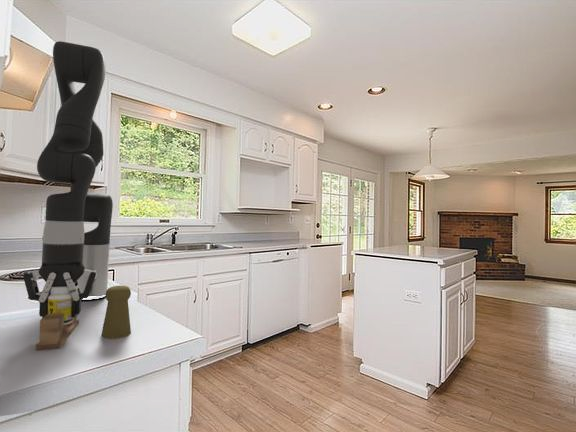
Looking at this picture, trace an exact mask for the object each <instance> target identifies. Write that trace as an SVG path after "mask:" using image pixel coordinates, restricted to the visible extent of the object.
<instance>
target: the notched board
mask: <svg viewBox="0 0 576 432" xmlns="http://www.w3.org/2000/svg"><path fill="white" fill-rule="evenodd" d="M79 324H80V319H78V315H77V316H76V317H73V321H72V322H71V323H70V324H67V325H64V313H52V314H47V315H46V316H44V317H43V318H41V319H40V320H39V334H38V335H39V336H38V343H37V344H36V345H35V351H43V350H45V351H46V350H55V349H56V350H58V349H59V350H60V348H61V347H62V346H63V345H64V343H65V342H66V340H68V338H69V337H70V335H71V334H72V333H73V332H74V330H75V329H76V328H77V327H78V326H79Z"/></svg>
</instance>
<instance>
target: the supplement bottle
mask: <svg viewBox="0 0 576 432" xmlns="http://www.w3.org/2000/svg"><path fill="white" fill-rule="evenodd" d="M50 293H51V295H49V297H48V309H47V314H52V313H64V325H67V324H70V323H71V322H72V321H73V317H71V314H72V301H73V297H72V295H71V292H70V291H69V289H68V287H61V286H60V287H51V290H50Z"/></svg>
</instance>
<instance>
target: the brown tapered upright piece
mask: <svg viewBox="0 0 576 432" xmlns="http://www.w3.org/2000/svg"><path fill="white" fill-rule="evenodd" d="M131 294H132V291H131V288H130V287H129V286H127V285H113V286H110V287H107V291H106V297H105V300H106V301H107V306H106V311H105V314H104V320H103V325H102V329H101V338H103V339H108V340H114V339H122V338H124V337H127V336H129V335H131V331H132V329H131V322H130V321H131V319H130V307H129V299H130V298H131Z"/></svg>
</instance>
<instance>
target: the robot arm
mask: <svg viewBox="0 0 576 432" xmlns="http://www.w3.org/2000/svg"><path fill="white" fill-rule="evenodd" d="M52 60H53V61H52V62H53V66H54V72H55V73H54V74H55V77H56V82H57V88H58V92H59V98H60V103H61V104H60V105H61V106H60V107H59V109H58V112H57V114H56V117H55V122H54V130H53V134H52V136H51V138H50V140H49V141H48V143H47V145H46V146H45V147H44V149H43V150H42V151H41V154H39V158H38V159H37V163H36V171H37V173H38V175H39V177H40V178H41V179H42V180H44V181H45V182H48V183H54V184H55V183H56V184H57V183H58V184H70V187H69V188H70V191H69V192H64V193H63V192H62V193H53V194H50V195H48V196H47V198H46V203H45V217H44V219H45V221H44V226H43V234H42V239H41V240H42V251H41V266H40V268H39V269H38V270H37V269H36V270H29V271H27V272H25V273H24V274H22V277H23V282H24V285H25V288H26V289H25V290H26V292H27V295H28V296H27V297H28V299H29V300H30V301H38V303H39V311H38V312H39V313H38V316H39V317H42V318H43V317H44V316H46V315H47V309H48V297H49V295H51V293H50V290H51V287H60V286H61V287H68V289H69V291H70V292H71V295H72V297H73V301H72V314H71V317H76V316H77V317H78V315H79V314H80V313H81V311H82V301H81V300H82V299H83V298H87V297H88V296H102V295H106V291H107V289H108V283H109V282H108V281H109V280H108V279H109V267H110V266H109V262H110V242H111V226H112V217H113V206H114V202H113V198H112V197H111V195H110V194H106V193H92V192H91V193H89V189H90V187H91V184H92V181H93V180H94V178H95V177H94V176H95V174H96V168H97V167H98V165H99V164H100V162H101V161H102V160H103V157H104V154H105V153H104V141H103V139H104V138H103V132H102V129H101V128H100V126H99V125H98V123H97V121H95V119H94V114H95V111H96V107H97V106H98V105H97V104H98V102H99V99H100V96H101V92H102V89H103V86H104V83H105V79H106V62H105V57H104V54H103V53H102V51H101V50H100V49H99V48H95V47H93V46H87V45H83V44H79V43H78V44H77V43H72V42H67V41H59V40H58V41H56V42H55V43H54V44H53V48H52ZM75 83H79V84H84V85H83V86H82V87H81V88H80V90H78V91H77V90H76V87H75ZM84 223H97V226H96V227H95V228H94V229H92V230H89V231H85V226H84V225H85V224H84ZM39 277H41V279H42V280H44V282H45V284H44V286H43V288H42V292H40V290H39V289H40V288H39V285H38V283H37V280H39ZM42 318H41V319H42Z"/></svg>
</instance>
